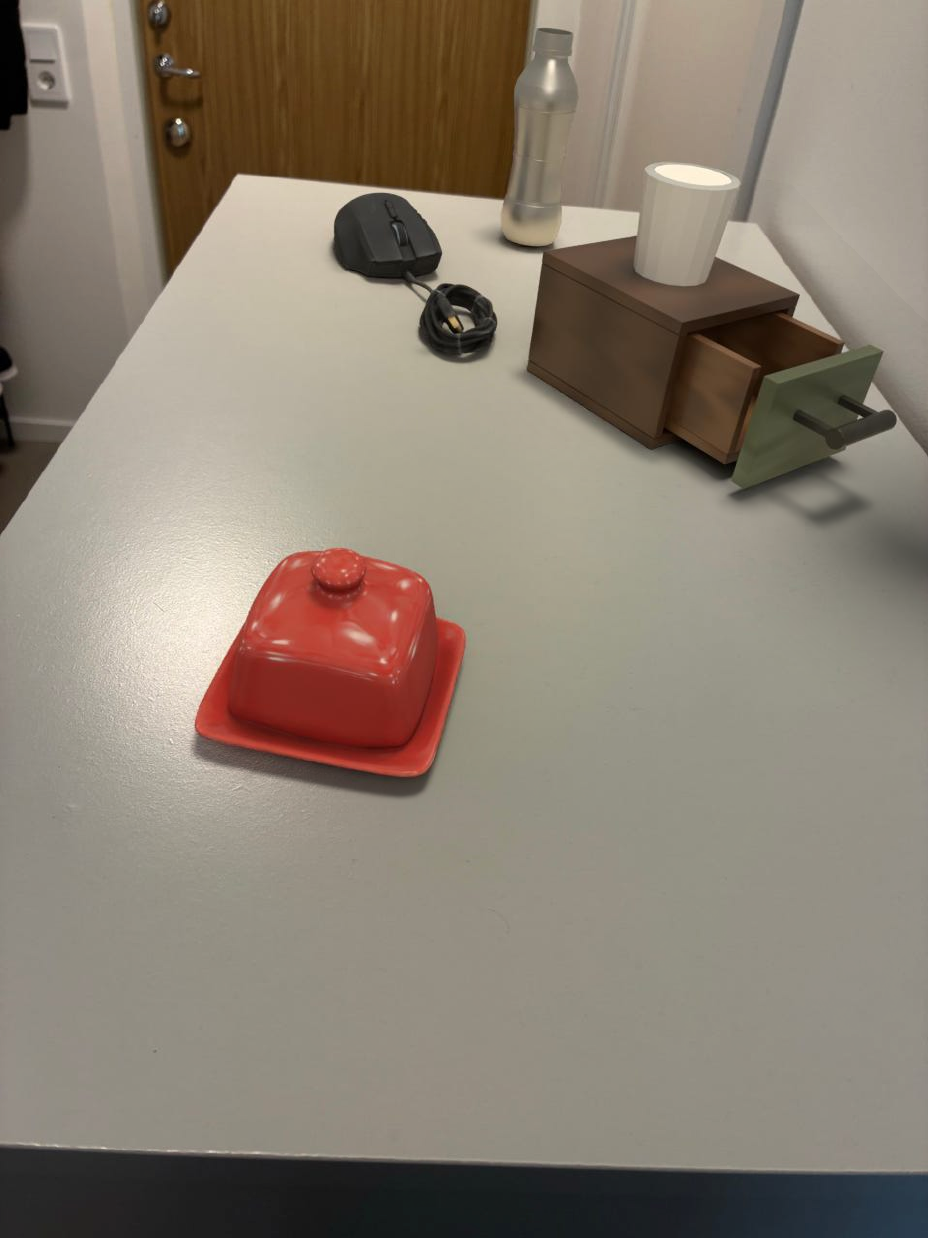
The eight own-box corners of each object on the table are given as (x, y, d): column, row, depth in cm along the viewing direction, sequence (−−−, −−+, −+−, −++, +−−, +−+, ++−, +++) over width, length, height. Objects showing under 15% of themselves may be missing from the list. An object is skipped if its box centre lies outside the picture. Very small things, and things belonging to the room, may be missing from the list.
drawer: (892, 476, 69) (937, 375, 64) (791, 519, 63) (832, 411, 58) (711, 376, 79) (736, 282, 74) (609, 405, 73) (630, 305, 68)
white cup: (734, 282, 71) (761, 183, 67) (669, 294, 68) (693, 191, 64) (671, 251, 76) (693, 157, 71) (606, 262, 72) (625, 163, 68)
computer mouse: (398, 230, 103) (400, 176, 100) (530, 355, 81) (539, 292, 78) (313, 234, 100) (313, 179, 96) (428, 366, 78) (432, 300, 74)
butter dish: (427, 801, 43) (441, 664, 38) (184, 753, 44) (163, 611, 39) (470, 641, 52) (486, 510, 46) (267, 603, 53) (259, 471, 47)
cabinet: (762, 413, 77) (800, 294, 71) (650, 449, 71) (682, 322, 64) (635, 342, 86) (659, 231, 79) (526, 369, 79) (543, 250, 73)
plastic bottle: (532, 257, 100) (562, 39, 88) (485, 239, 104) (506, 26, 91) (569, 246, 104) (602, 35, 92) (522, 228, 108) (548, 23, 95)
